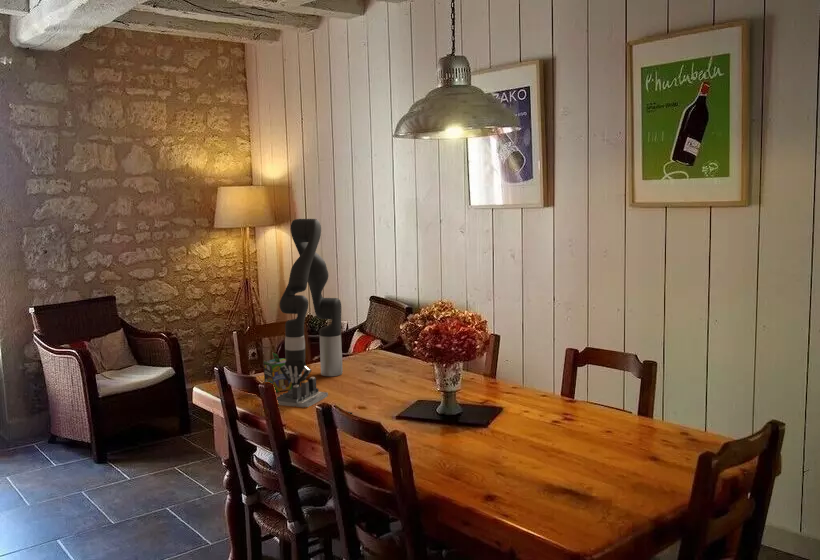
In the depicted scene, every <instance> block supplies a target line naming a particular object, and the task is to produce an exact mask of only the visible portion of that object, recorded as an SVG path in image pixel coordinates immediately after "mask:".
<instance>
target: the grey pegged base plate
mask: <svg viewBox="0 0 820 560" xmlns="http://www.w3.org/2000/svg"><path fill="white" fill-rule="evenodd" d="M308 382H309V396H308V397H306V395H301V385H300V386H299V385H294V386H293V387H292V389H290V390H287V392H282V394H279V396H277V400H278V403H279V405H278V406H287V407H295V406H296V407H297V408H304V407H308V408H309V406H310V407H311V406H313V405H315V404H317V403H318V402H320V401H323V400H324V399H326V398H327V397H329V393H328V392H326V391H320V390H319V387H317V378H316V377H315V376H311V377H309V378H308Z"/></svg>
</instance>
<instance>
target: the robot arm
mask: <svg viewBox="0 0 820 560" xmlns="http://www.w3.org/2000/svg"><path fill="white" fill-rule="evenodd" d="M290 234H291V237H292V240H293V243H294V246H295V248H296V249H297V252H298V254H299V255H298V256H299V257H298V258H297V259H296V260H295V262H293V264H292V267H291V268H290V274H289V278H288V283H287V286H286V288H285V290H284V292H283V294H282V296H281V297H280V301H279V309H280V311H281V312H282V313H283V314H285V315H287V314H288V315H292V314H293V315H297V316H296V318H293V319H289V320H286V321H285V324H284V329H285V331H284V332H285V339H284V351H285V352H284V353H285V354H284V355H285V358H284V359H286V362H285V365H284V366H283V367H281V368H280V370H281V372H282V373H283V375H284V376H285V378H286V379H287V380H288V381H291V382H292V387H293V386H294V385H299V386H300V387H301V382H302V381H304V380H307V377H308V376H309V375H310V374H311V372H312V368H309V367H307V364H306V339H305V320H306V316H307V312H308V309H309V299H308V298H307V297H306V296H305V295H302V294H299V295H297V294H298V293H302V292H303V293H304V292H305V291H306V290H307V286H308V287H309V291H310V294H311V300H312V305H313V309H314V313H315V314H314V315H315V316H316V317H317V319H320V320H331V323H330V324H328V325H326V326H323V327H321V328H320V329H319V333H318V334H319V351H320V353H319V358H320V359H319V360H320V361H319V362H320V375H321V376H324V377H337V376H341V375H342V374H343V351H342V301H341V300H340V299H339V298H338V297H323V294H322V292H323V289H324V288H325V287H326V284H327V282H328V280H329V271H328V270H329V269H328V268H327V264H326V261H325V259H324V258H323V257H322V256H321V255H320V254H319V253H317V252H316V251H317V249H318V246H319V242H320V239H321V235H322V225H321V222H320V221H319V219H316V218H296V219H293V220H292V222H291V223H290Z"/></svg>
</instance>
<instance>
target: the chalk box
mask: <svg viewBox="0 0 820 560" xmlns="http://www.w3.org/2000/svg"><path fill="white" fill-rule="evenodd" d="M272 356H273V359H270V360H263V362H262V363H263V374H264V383H265V382H270V383H272V384H273V385H274V387H275V390H276V393H280V391H281V392H284V391H289V390H291V389H292V382H291V381H288V380H287V379H286V378H285V376H284V375H283V373H282V372H281V370H280V368H281V367H283V366H284V365H285V362H286V359H285V358H284V357H283V358H279V354H277V353H275V352H272Z"/></svg>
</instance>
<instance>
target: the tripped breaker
mask: <svg viewBox="0 0 820 560" xmlns="http://www.w3.org/2000/svg"><path fill="white" fill-rule="evenodd" d="M300 387H301V395H306V397H308V396H309V382H308V380H307V379H305V380H304V381H302V382H300Z"/></svg>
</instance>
